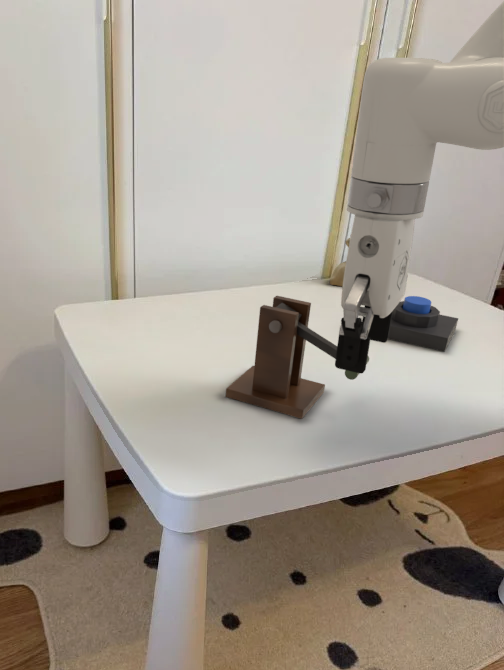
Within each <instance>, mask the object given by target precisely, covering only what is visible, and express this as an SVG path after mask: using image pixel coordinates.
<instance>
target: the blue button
mask: <svg viewBox="0 0 504 670" xmlns="http://www.w3.org/2000/svg"><path fill="white" fill-rule="evenodd" d="M403 301H404V304H403V310H405V311H408V312H411V313H416V314H428V313H429V311H430V307H431V306H432V301H431V300H430V299H428V298H426V297H422V296H418V295H409V296H405V297H404V300H403Z"/></svg>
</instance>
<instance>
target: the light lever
mask: <svg viewBox="0 0 504 670" xmlns="http://www.w3.org/2000/svg"><path fill="white" fill-rule="evenodd" d="M276 308H280V309H285V310H289V311H294V312H297V311H295V310H293V309H292V308H290V307H289V306H287V305H285V304H284V303H281V304H280V305H278V306H277V307H276ZM301 316H302V315H301V314H300V313H299V317H298V321H299V319H300V318H301ZM296 334H297V335H299V336H300V337H302V338H303V339H305V340H306V342H308V343H310V344H311V345H313V346H314V347H316V348H317V349H319V350H321V351H322V352H323V353H325V354H326V355H328V356H330V357H331V358H333V359H334V360H336V353H337V346H338V345H337V344H334V343H332V342H331V341H330V340H328V339H327V338H325V337H324V336H322V335H320V334H319V333H317V332H316V331H314V330H313V329H311V328H309V326H308V327H306V326H305V325H303V324H301V323H300V322H298V325H297V333H296ZM369 362H370V357H369V355H368V357H367V364H368V363H369ZM360 374H361V373H356V372H352V371H347V370H344V376H345V377H346V379H347V380H352V381H353V380H355V379H357V378H358V376H359V375H360Z"/></svg>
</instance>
